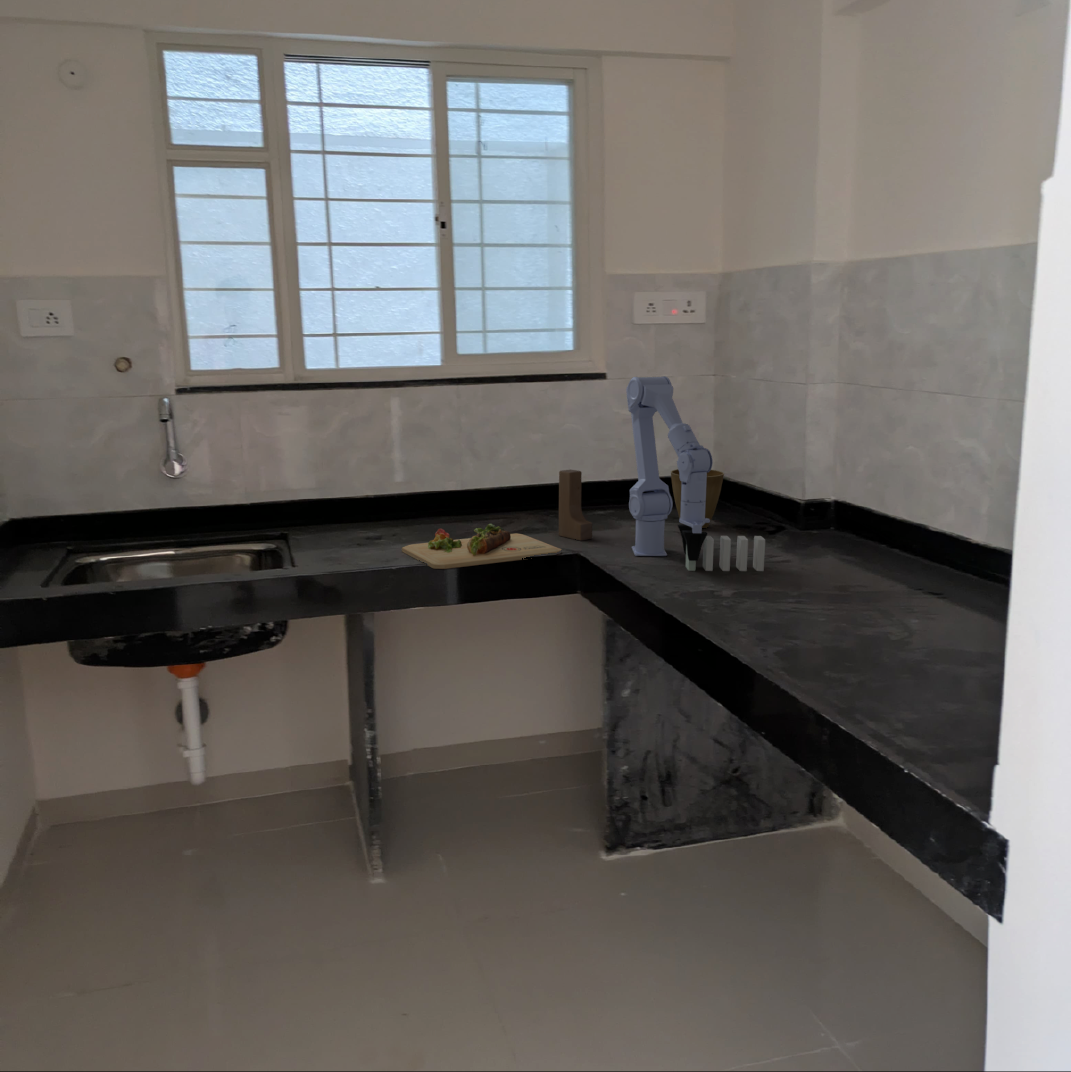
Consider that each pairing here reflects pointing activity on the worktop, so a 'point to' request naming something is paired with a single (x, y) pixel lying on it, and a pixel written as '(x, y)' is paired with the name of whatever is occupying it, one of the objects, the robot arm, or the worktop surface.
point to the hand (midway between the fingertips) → (691, 557)
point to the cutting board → (477, 548)
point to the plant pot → (712, 490)
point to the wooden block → (572, 507)
